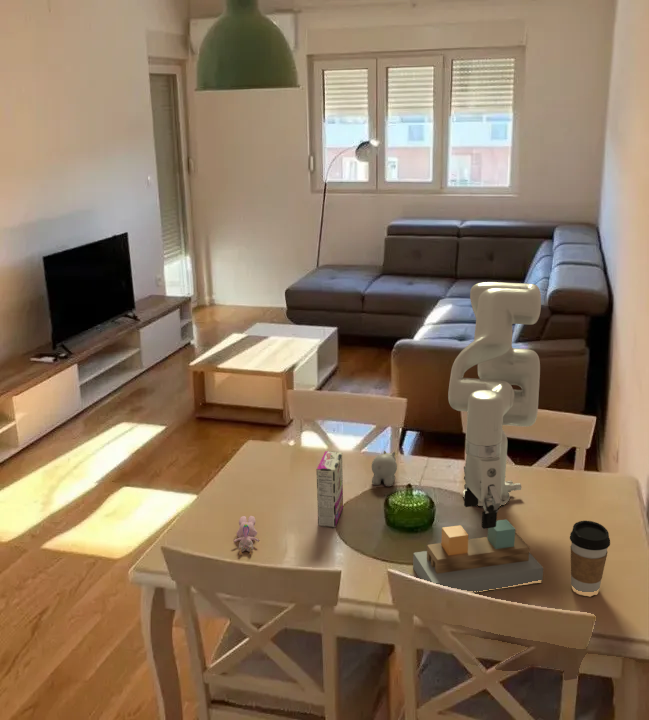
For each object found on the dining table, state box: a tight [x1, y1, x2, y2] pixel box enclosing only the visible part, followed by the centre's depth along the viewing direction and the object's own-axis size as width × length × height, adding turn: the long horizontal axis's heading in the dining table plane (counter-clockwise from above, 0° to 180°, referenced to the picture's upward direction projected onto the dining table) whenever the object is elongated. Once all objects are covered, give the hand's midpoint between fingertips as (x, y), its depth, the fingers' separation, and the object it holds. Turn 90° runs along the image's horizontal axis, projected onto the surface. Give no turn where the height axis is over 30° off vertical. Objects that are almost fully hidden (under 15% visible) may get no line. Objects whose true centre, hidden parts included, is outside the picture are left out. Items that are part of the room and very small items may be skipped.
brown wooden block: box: [426, 532, 530, 574], centre depth 181 cm, size 22×6×4 cm, turn 103°
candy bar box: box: [315, 450, 344, 528], centre depth 207 cm, size 11×5×16 cm, turn 168°
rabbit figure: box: [233, 515, 260, 557], centre depth 197 cm, size 6×6×15 cm
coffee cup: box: [569, 520, 611, 592], centre depth 174 cm, size 8×8×15 cm
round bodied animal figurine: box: [371, 450, 398, 487], centre depth 229 cm, size 7×12×8 cm, turn 159°
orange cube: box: [440, 524, 469, 555], centre depth 179 cm, size 4×4×4 cm
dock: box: [412, 550, 544, 594], centre depth 182 cm, size 26×13×4 cm, turn 103°
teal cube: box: [486, 519, 516, 549], centre depth 181 cm, size 4×4×4 cm
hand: (479, 516), depth 178 cm, fingers open, 9 cm apart
